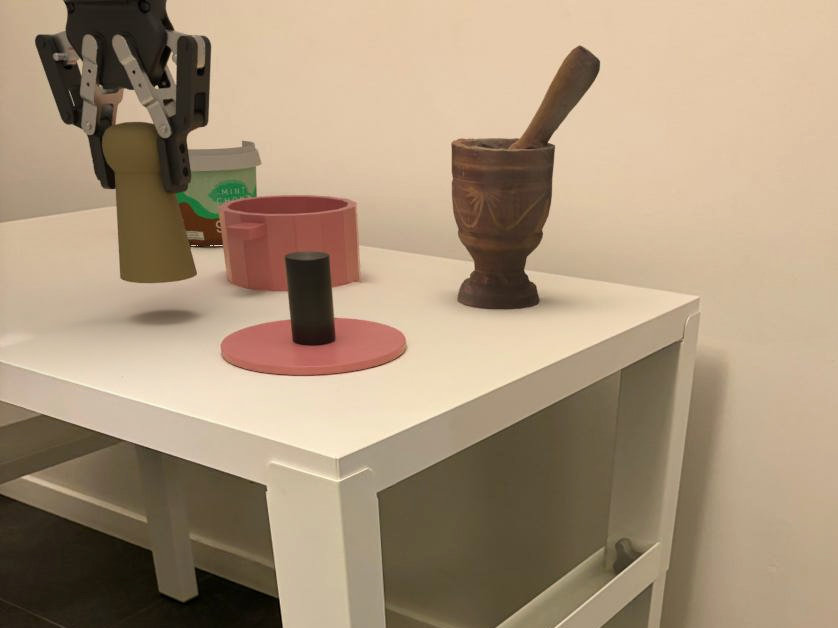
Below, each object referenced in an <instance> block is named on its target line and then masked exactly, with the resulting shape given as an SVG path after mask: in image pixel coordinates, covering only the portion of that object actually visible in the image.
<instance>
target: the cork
mask: <svg viewBox="0 0 838 628" xmlns="http://www.w3.org/2000/svg"><path fill="white" fill-rule="evenodd" d="M156 139H162V138H161V136H160V135H159V134H158V132H157V130H156V128H155V125H154V124H153V122H147V121H124V122H120V123H116V124H115V125H113V126H110V127H109V128H108V129H106V130H105V132H104V135H103V138H102V148H103V153H104V156H105V159H106V161H107V163H108V165H109V166H110V167H111V168H112V169H113V171H114V172H115V188H116V189H115V204H116V205H115V206H116V219H117V220H116V222H117V225H116V226H117V241H118V242H117V243H118V260H119V261H118V262H119V278H120V279H121V280H122V281H125V282H129V283H135V284H165V283H173V282H174V283H175V282H180V281H186V280H189V279H192V278H194V277H196V276H197V275H198V271H197V267H196V263H195V260H194V256H193V252H192V248H191V246H190V245H189V241H188V237H187V234H186V230H185V226H184V223H183V219H182V215H181V212H180V208H179V204H178V200H177V197H176V193H167V192H166V191H165V190H164V186H163V179H162V173H161V166H160V160H159V153H158V147H157V140H156Z"/></svg>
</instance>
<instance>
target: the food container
mask: <svg viewBox="0 0 838 628" xmlns="http://www.w3.org/2000/svg"><path fill="white" fill-rule="evenodd" d="M188 154H189V162H190V168H191V175H192V177H191V182H190V183H188V189H187V191H185V192H180V193H176V197H177V200H178V204H179V208H180V212H181V215H182V219H183V223H184V226H185V230H186V234H187V237H188V241H189V245H196V246H197V245H198V246H210V245H213V246H214V245H223V241H222V233H221V225H220V217H219V209H218V207H219V206H220V205H221V204H223V203H224V202H228V201H232V200H236V199H243V198H251V197H258V192H257V189H258V187H257V185H258V184H257V167H259V166H261V165H262V164H263V163H262V160H261V156H260V153H259V150H258V148H256V144H255V142H254V141H249V140H241V146H237V147H225V148H224V147H223V148H206V149H205V148H200V149H199V148H198V149H197V148H195V149H193V148H188Z"/></svg>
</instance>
